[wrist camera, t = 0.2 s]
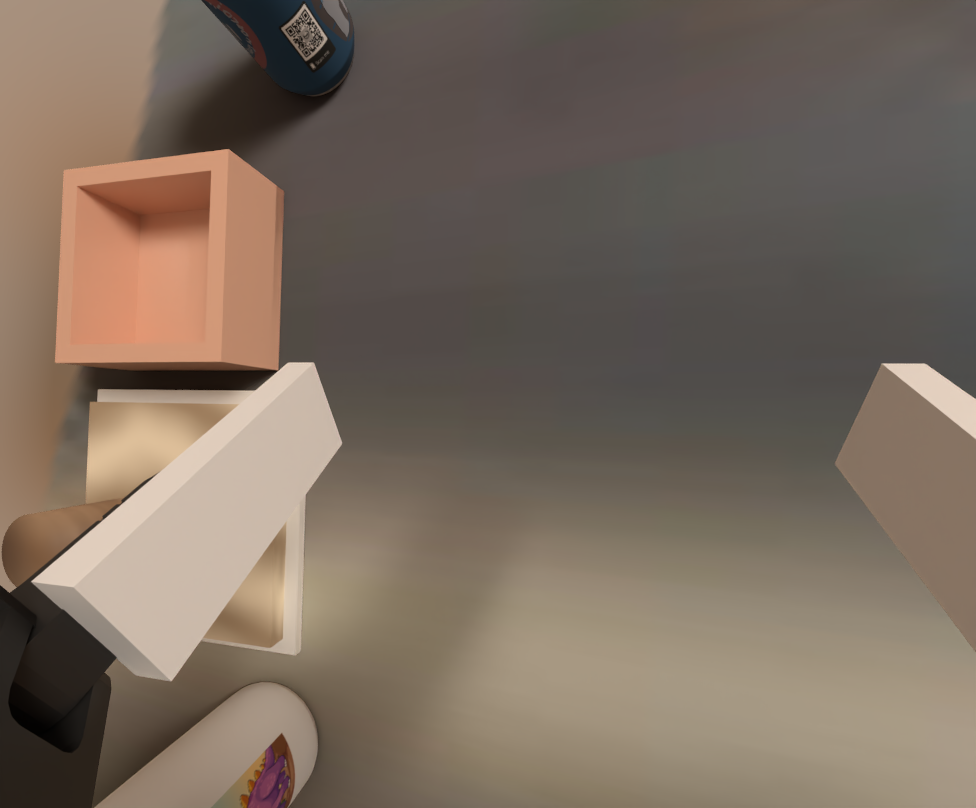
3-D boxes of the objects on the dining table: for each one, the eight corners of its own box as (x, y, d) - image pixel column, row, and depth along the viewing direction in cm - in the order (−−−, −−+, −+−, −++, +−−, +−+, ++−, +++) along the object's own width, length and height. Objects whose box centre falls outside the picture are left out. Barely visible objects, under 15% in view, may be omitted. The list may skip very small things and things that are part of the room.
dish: (278, 370, 30) (221, 361, 25) (132, 370, 33) (55, 362, 28) (284, 191, 31) (228, 148, 26) (139, 206, 33) (63, 170, 28)
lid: (282, 638, 29) (150, 738, 20) (98, 611, 32) (-87, 687, 23) (290, 405, 29) (163, 400, 20) (107, 402, 33) (-71, 397, 24)
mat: (301, 650, 29) (295, 655, 29) (96, 619, 33) (87, 623, 32) (308, 391, 30) (303, 390, 29) (106, 389, 34) (97, 389, 33)
